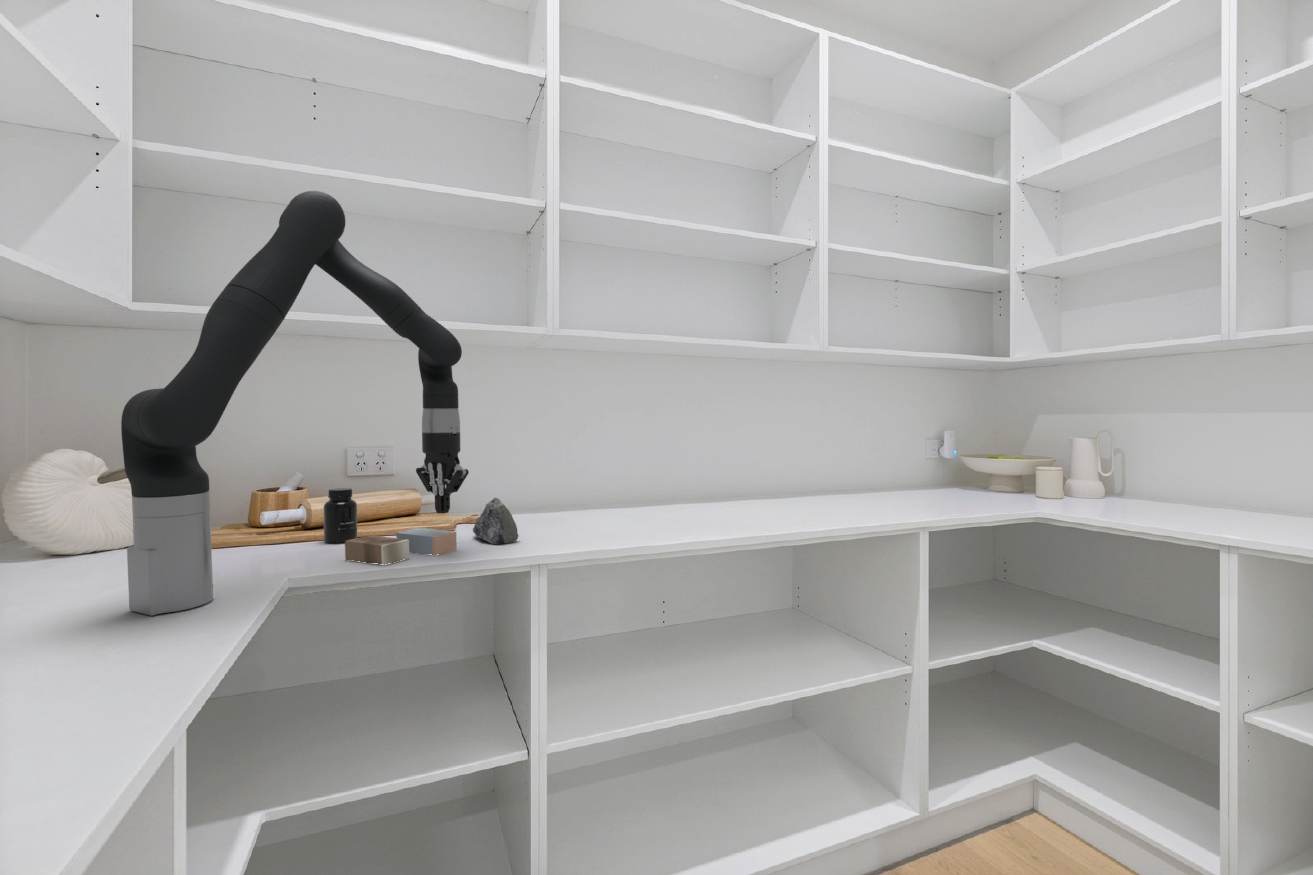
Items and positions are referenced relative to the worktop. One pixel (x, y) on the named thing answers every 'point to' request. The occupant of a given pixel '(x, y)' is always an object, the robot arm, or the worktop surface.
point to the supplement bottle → (340, 516)
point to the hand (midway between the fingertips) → (442, 512)
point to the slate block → (429, 540)
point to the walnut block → (377, 549)
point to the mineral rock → (496, 524)
